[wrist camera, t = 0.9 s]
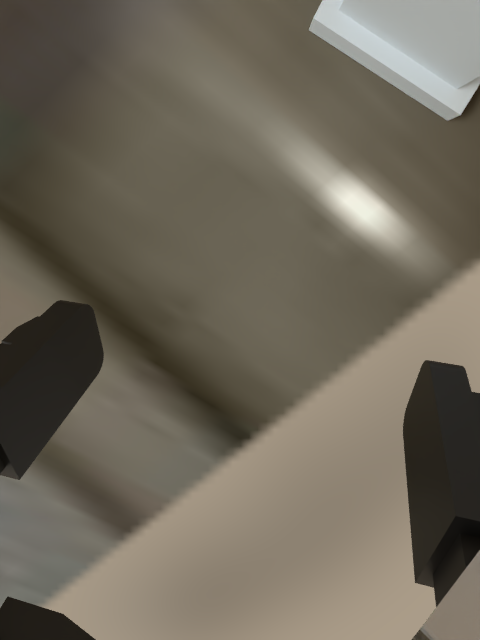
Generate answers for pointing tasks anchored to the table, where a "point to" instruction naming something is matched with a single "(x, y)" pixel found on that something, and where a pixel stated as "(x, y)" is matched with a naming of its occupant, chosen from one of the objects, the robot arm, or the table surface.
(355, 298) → the table surface
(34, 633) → the robot arm
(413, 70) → the white flanged block
